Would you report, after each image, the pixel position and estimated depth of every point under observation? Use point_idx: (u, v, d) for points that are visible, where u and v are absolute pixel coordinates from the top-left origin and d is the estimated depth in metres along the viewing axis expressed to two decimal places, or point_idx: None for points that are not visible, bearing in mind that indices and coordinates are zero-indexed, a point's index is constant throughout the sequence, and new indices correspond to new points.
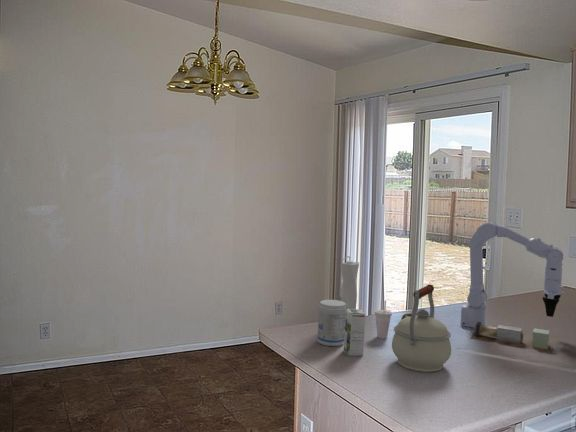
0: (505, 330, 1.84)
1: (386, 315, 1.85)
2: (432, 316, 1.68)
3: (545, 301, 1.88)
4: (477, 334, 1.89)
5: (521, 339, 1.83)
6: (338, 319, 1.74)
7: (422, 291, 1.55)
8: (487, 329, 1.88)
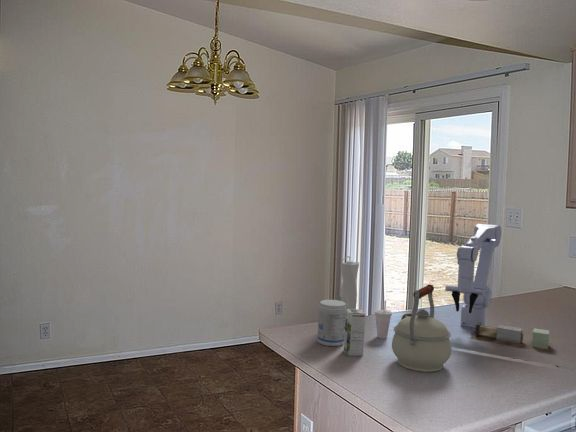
0: (505, 330, 1.84)
1: (386, 315, 1.85)
2: (432, 316, 1.68)
3: None
4: (477, 334, 1.89)
5: (521, 339, 1.83)
6: (338, 319, 1.74)
7: (422, 291, 1.55)
8: (487, 329, 1.88)
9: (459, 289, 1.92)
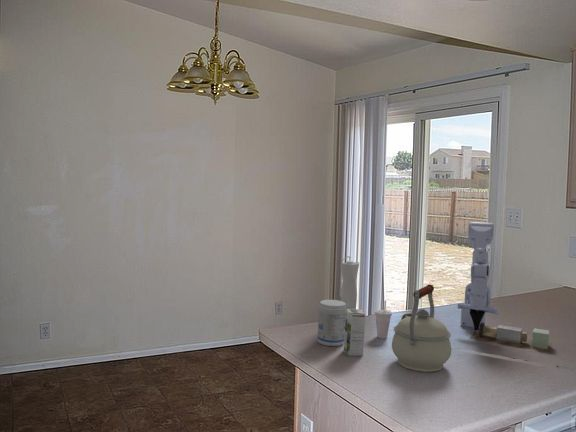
0: (505, 330, 1.84)
1: (386, 315, 1.85)
2: (432, 316, 1.68)
3: None
4: (481, 335, 1.89)
5: (525, 340, 1.82)
6: (338, 319, 1.74)
7: (422, 291, 1.55)
8: (491, 330, 1.88)
9: (472, 307, 1.90)
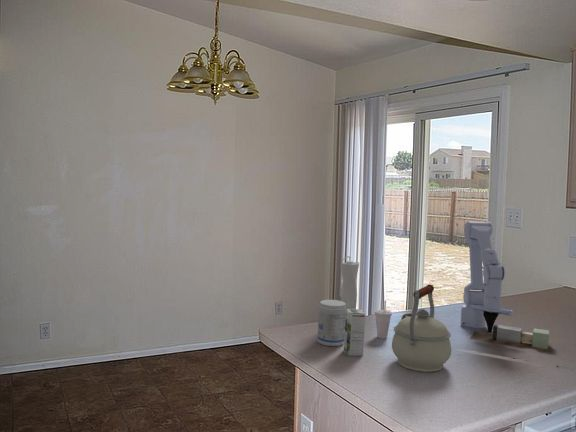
0: (505, 330, 1.84)
1: (386, 315, 1.85)
2: (432, 316, 1.68)
3: None
4: (494, 337, 1.86)
5: None
6: (338, 319, 1.74)
7: (422, 291, 1.55)
8: None
9: (485, 309, 1.87)
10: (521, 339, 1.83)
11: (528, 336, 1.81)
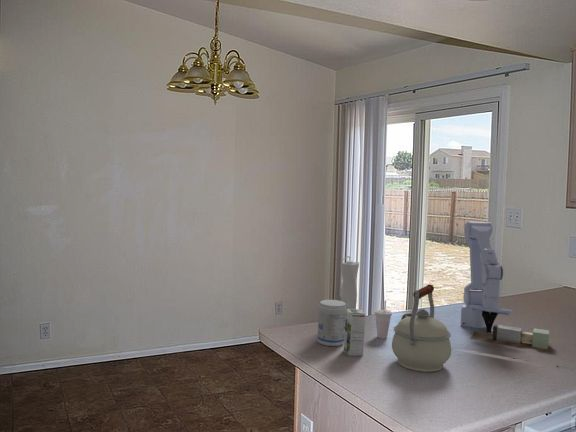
0: (505, 330, 1.84)
1: (386, 315, 1.85)
2: (432, 316, 1.68)
3: None
4: (494, 337, 1.86)
5: None
6: (338, 319, 1.74)
7: (422, 291, 1.55)
8: None
9: (484, 309, 1.88)
10: (521, 339, 1.83)
11: (528, 336, 1.81)
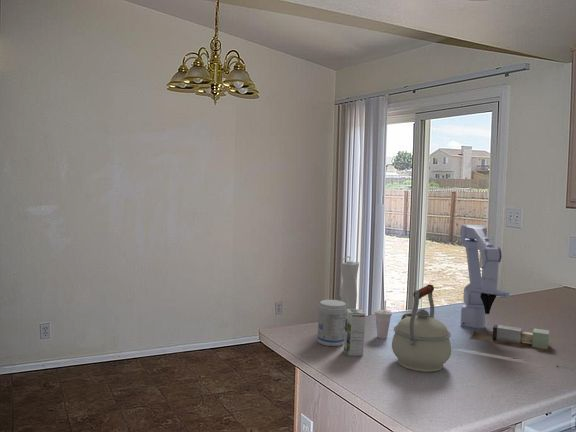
0: (505, 330, 1.84)
1: (386, 315, 1.85)
2: (432, 316, 1.68)
3: None
4: (494, 337, 1.86)
5: None
6: (338, 319, 1.74)
7: (422, 291, 1.55)
8: None
9: (483, 291, 1.90)
10: (521, 339, 1.83)
11: (528, 336, 1.81)
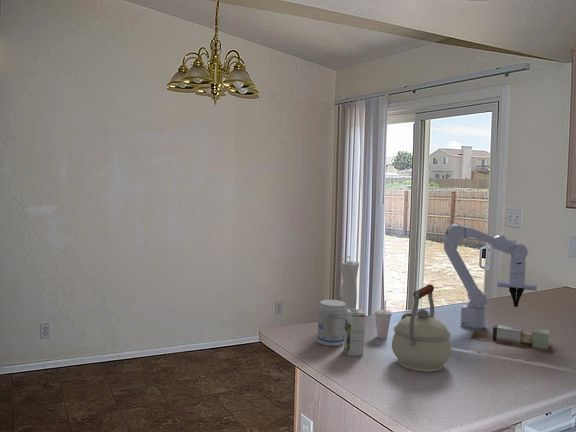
0: (505, 330, 1.84)
1: (386, 315, 1.85)
2: (432, 316, 1.68)
3: None
4: (494, 337, 1.86)
5: None
6: (338, 319, 1.74)
7: (422, 291, 1.55)
8: None
9: (511, 285, 2.00)
10: (521, 339, 1.83)
11: (528, 336, 1.81)
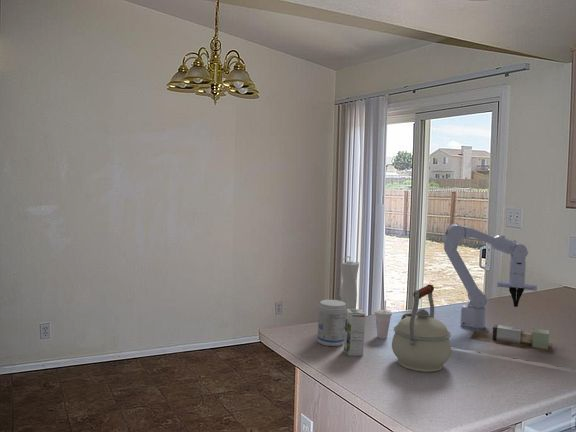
0: (505, 330, 1.84)
1: (386, 315, 1.85)
2: (432, 316, 1.68)
3: None
4: (494, 337, 1.86)
5: None
6: (338, 319, 1.74)
7: (422, 291, 1.55)
8: None
9: (511, 285, 2.00)
10: (521, 339, 1.83)
11: (528, 336, 1.81)
